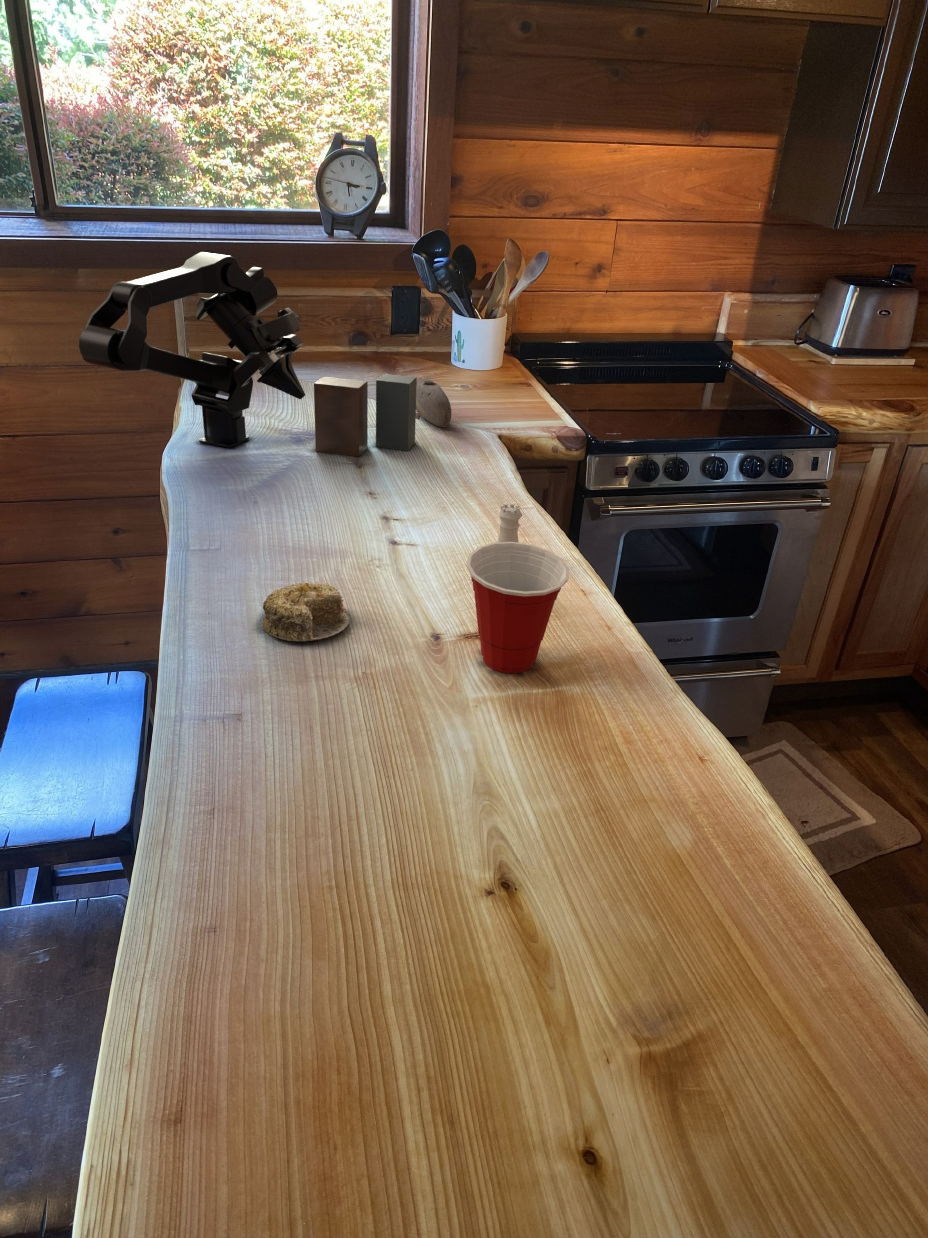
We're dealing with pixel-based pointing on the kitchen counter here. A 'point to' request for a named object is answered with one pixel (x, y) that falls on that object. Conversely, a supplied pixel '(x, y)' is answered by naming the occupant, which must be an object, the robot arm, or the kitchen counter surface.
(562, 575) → the plastic cup
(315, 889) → the kitchen counter surface
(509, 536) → the rook chess piece
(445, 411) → the perforated stone tool
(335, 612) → the cake
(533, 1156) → the kitchen counter surface
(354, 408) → the walnut block
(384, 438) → the slate block
